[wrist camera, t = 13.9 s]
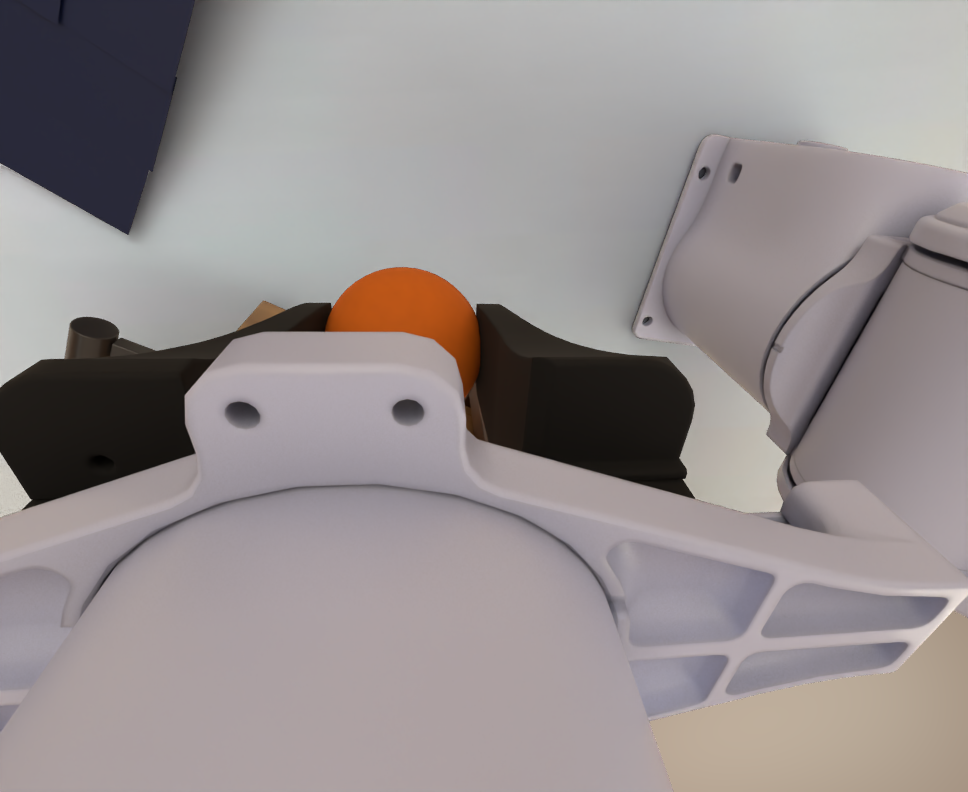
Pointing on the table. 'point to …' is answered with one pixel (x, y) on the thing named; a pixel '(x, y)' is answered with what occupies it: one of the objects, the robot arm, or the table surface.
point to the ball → (412, 313)
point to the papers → (88, 95)
